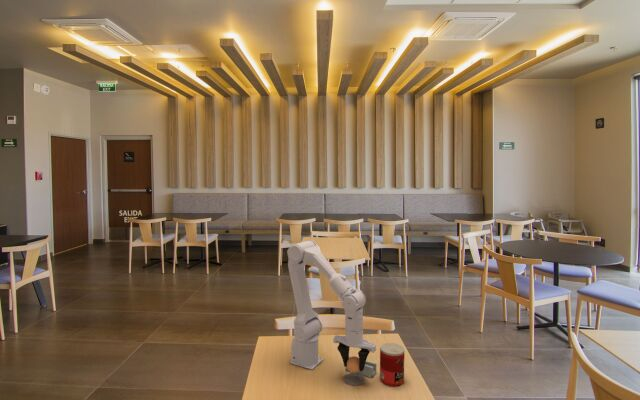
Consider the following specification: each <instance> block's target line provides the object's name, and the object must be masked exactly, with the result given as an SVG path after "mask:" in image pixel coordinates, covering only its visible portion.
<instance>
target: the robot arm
mask: <svg viewBox="0 0 640 400" xmlns="http://www.w3.org/2000/svg"><path fill="white" fill-rule="evenodd" d="M286 253H287V257H288V261H287V268H288V272H289V277H290V282H291V287H292V292H293V298H294V303H295V307H296V311H297V314H296V316H295V318H294V320H293V326H294V328H293V335H294V337H293V338H292V341H291V344H290V353H291V357H290V358H291V359H290V362H289V363H290V364H292V365H295V366H299V367H301V368H306V369H309V370H314V369H315V368H316V367H317V366H318V365H320V363H322V362H323V360H324V358H322V357H319V337H320V333H321V332H322V330H323V323H322V321H321V319H320V318H319V313H318V312H316V311H315V310H313V305H312V301H311V295H310V292H309V286H308V282H307V281H308V280H307V277H306V271H305V267H306V265H307V264H310V265H311V264H312V265H314V266H315V267H316V268H317V269H318V270H319V271H320V273H322V274H323V275H324V276H325V277H326V278H327V279H328V281H329V282H328V285H329V287H330V288H331V289H332V291H334V293H335V294H336V295H337V296H338V297H339V298H340V300H341V306H342V309H343V310H344V315H345V318H344V319H345V321H344V322H345V329H344V330H345V335H338V334H335V335H334V336H333V339H332V341H333V344H338V346H337V351H338V352H339V354H340V356H341V358H342V361H343V366H344V367H345V368H346V367H347V361H348V359H349V357H350V348H354V349H355V348H356V349H360V350H359V351H358V352H357V355H358V358H359V362H360V364H359V369H360V371H363V369H364V366H365V362H366V361H367V359H368V357H369V354H370V353H373V354H375V352H376V351H377V344H374V343H372V342H369V341H368V340H365V339H364V306H365V305H366V303H367V297H366V295H365V293H364V292H363V290H361V289H359V288H357V287H354V286H353V285H352V284H351V282H350V281H349V280H348V279H347V276H346V275H344V274H342V273H337V272H336V270H335V269H334V268H333V266H332V265H331V263H330V262H329V261H328V259H327V258H326V257H325V256H324V254H323V253H322V251H321V247H320V246H319V245H318V244H317V243H316V241H315V240H313V239H308V240H304V241H302V242H298V243H293V244H291V245H290V247H288V249H287V251H286Z"/></svg>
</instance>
